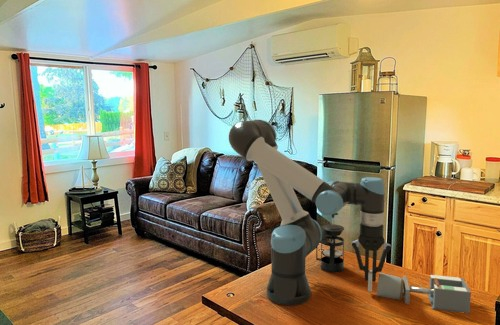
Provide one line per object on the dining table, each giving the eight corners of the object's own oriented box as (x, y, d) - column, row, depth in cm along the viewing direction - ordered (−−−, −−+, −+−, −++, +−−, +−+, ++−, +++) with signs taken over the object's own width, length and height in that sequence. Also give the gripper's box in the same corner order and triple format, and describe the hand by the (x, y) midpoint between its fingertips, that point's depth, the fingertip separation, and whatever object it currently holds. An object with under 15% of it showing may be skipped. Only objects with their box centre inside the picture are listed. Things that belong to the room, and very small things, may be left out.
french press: (345, 264, 155) (346, 210, 152) (345, 273, 146) (346, 216, 143) (317, 261, 158) (317, 208, 155) (315, 271, 149) (315, 215, 146)
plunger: (405, 303, 121) (406, 282, 120) (402, 288, 132) (403, 268, 131) (448, 309, 118) (449, 287, 117) (441, 292, 128) (442, 272, 127)
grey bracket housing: (432, 309, 120) (433, 287, 119) (427, 294, 129) (428, 274, 128) (469, 313, 116) (471, 291, 116) (461, 298, 126) (463, 277, 125)
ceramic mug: (402, 304, 123) (403, 281, 122) (376, 299, 126) (377, 277, 125) (403, 290, 132) (404, 269, 131) (379, 286, 136) (379, 266, 135)
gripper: (351, 225, 125) (350, 292, 128) (392, 228, 121) (390, 297, 124) (352, 219, 132) (351, 282, 135) (391, 221, 128) (389, 287, 131)
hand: (369, 289), depth 130 cm, fingers closed
